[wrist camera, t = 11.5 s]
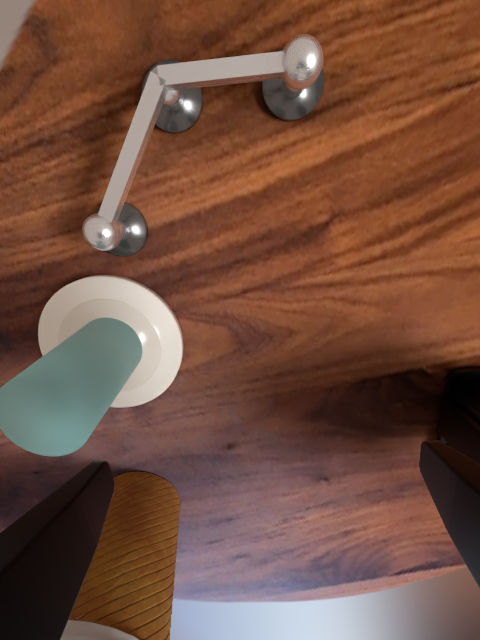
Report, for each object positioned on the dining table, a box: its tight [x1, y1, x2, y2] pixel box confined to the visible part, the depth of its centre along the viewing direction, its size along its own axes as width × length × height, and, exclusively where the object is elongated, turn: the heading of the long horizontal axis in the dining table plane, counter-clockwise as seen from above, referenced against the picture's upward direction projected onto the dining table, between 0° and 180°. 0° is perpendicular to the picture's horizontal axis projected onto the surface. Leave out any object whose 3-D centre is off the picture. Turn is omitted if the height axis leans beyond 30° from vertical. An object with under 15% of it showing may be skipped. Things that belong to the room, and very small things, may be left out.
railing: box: [82, 34, 324, 256], centre depth 15 cm, size 13×9×4 cm
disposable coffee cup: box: [61, 472, 180, 640], centre depth 19 cm, size 10×10×12 cm
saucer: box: [38, 275, 184, 408], centre depth 20 cm, size 9×9×1 cm
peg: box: [0, 318, 142, 456], centre depth 16 cm, size 4×4×7 cm
